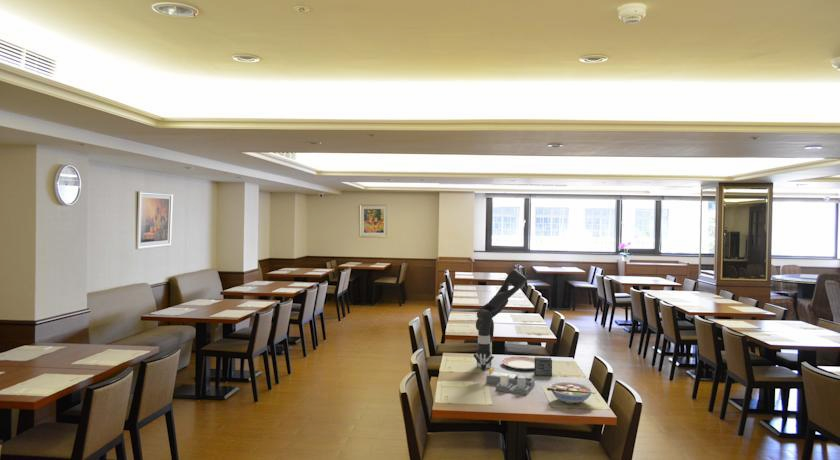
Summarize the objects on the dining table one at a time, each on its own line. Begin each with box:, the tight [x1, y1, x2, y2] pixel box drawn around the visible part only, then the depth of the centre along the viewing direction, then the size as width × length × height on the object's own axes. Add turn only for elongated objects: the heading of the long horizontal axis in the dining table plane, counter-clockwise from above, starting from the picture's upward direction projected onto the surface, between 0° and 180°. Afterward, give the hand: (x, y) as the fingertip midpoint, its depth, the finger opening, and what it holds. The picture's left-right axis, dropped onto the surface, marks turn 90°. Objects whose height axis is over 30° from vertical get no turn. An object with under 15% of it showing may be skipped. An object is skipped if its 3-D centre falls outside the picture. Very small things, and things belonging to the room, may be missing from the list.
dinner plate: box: [501, 355, 535, 371], centre depth 364 cm, size 28×27×3 cm
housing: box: [485, 375, 535, 396], centre depth 318 cm, size 27×20×8 cm
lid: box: [486, 366, 518, 379], centre depth 325 cm, size 16×8×4 cm, turn 66°
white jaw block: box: [500, 372, 509, 387], centre depth 313 cm, size 4×4×7 cm
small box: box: [533, 356, 553, 377], centre depth 344 cm, size 11×6×10 cm, turn 84°
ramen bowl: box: [546, 381, 597, 404], centre depth 293 cm, size 25×23×8 cm
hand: (483, 370), depth 330 cm, fingers closed
